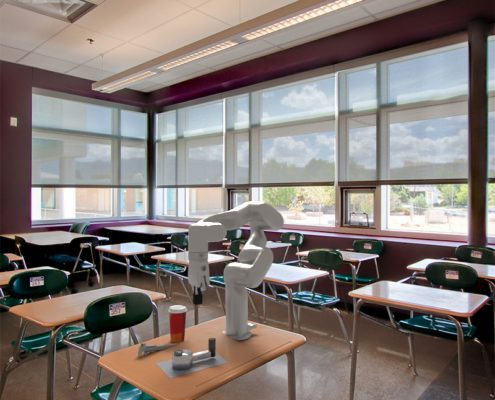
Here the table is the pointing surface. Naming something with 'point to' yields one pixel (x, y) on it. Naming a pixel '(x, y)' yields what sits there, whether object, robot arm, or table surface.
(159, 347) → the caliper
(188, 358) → the metal crank handle
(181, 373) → the stand
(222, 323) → the table surface
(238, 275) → the robot arm
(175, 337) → the paper cup
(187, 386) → the table surface
